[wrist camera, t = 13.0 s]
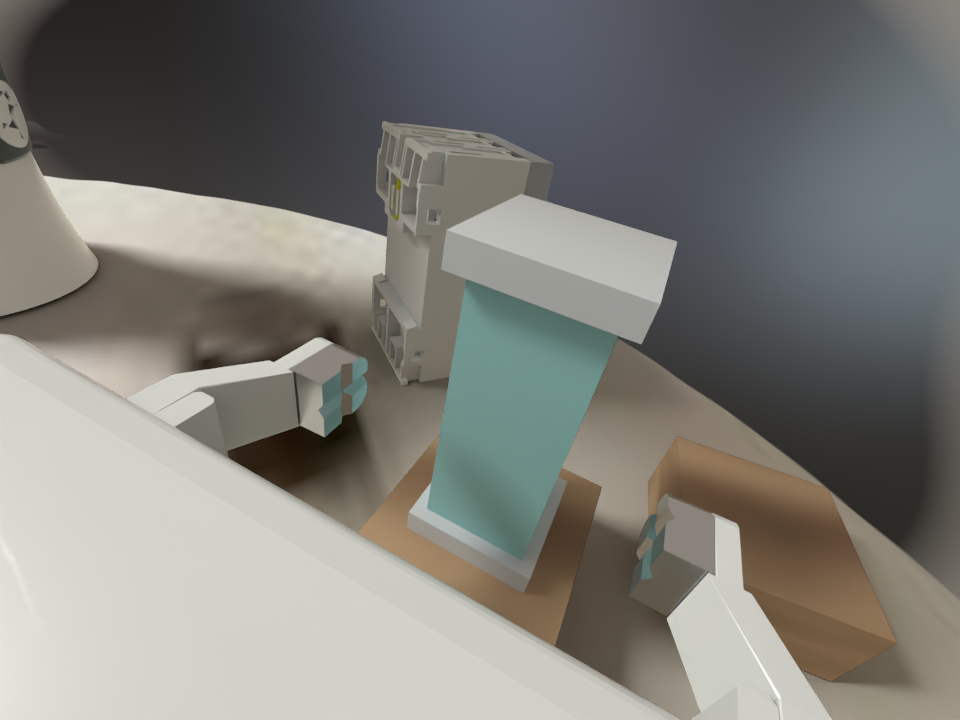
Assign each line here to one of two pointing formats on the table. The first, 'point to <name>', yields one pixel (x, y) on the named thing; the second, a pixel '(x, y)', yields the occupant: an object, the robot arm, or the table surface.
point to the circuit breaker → (436, 233)
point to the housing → (528, 369)
